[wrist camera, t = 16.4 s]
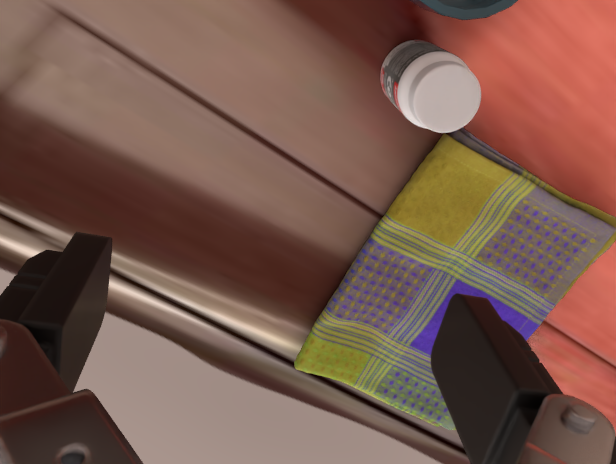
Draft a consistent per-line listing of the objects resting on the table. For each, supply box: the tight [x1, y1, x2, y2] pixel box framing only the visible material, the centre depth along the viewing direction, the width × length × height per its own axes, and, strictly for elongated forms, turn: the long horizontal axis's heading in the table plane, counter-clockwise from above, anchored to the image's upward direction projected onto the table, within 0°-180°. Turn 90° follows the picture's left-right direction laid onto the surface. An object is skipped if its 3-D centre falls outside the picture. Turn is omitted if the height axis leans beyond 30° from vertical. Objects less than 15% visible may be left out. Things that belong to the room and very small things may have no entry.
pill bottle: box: [380, 40, 481, 133], centre depth 38 cm, size 5×5×8 cm
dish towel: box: [294, 127, 616, 430], centre depth 48 cm, size 18×24×3 cm
